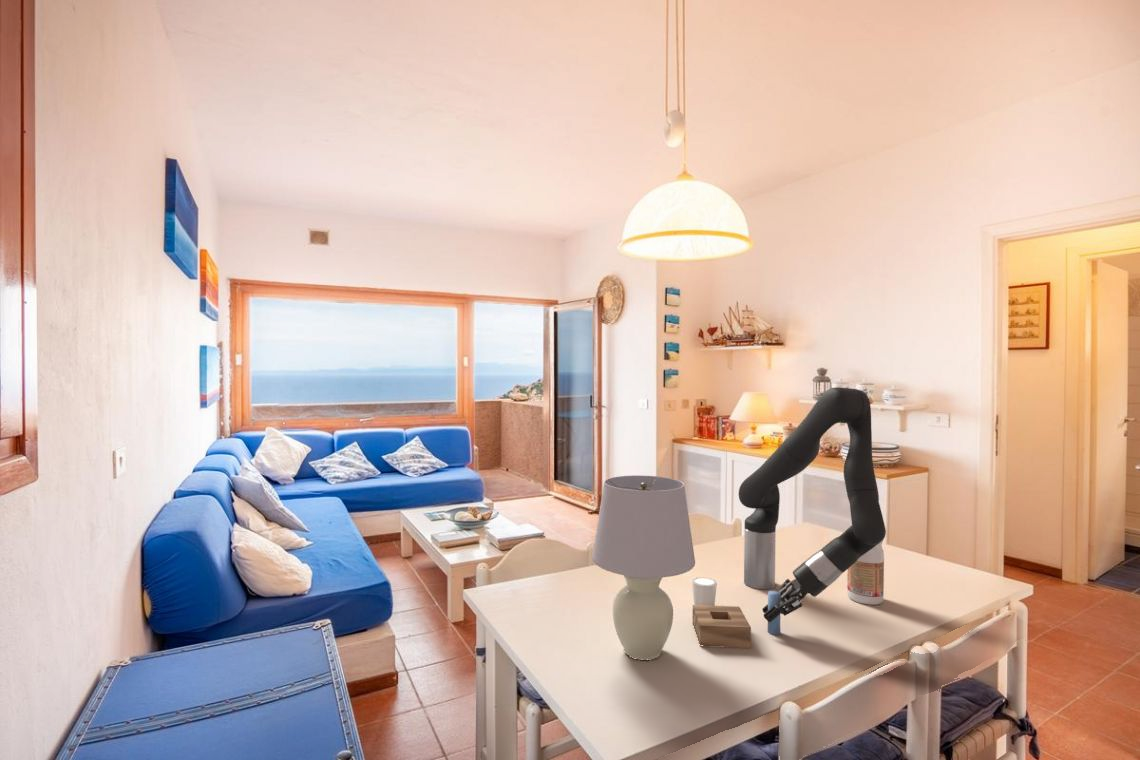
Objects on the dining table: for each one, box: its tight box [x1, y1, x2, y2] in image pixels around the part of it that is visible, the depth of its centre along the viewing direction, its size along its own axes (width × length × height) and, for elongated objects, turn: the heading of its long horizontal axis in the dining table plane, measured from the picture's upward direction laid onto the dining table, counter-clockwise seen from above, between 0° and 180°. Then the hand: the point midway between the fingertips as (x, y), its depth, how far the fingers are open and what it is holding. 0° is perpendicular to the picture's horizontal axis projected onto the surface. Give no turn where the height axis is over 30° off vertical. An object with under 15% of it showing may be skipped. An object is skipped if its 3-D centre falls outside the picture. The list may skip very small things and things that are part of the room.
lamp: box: [591, 474, 696, 660], centre depth 131 cm, size 24×24×40 cm
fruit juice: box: [846, 524, 885, 606], centre depth 163 cm, size 9×9×28 cm
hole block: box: [692, 604, 752, 649], centre depth 140 cm, size 12×12×5 cm
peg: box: [767, 590, 781, 636], centre depth 142 cm, size 3×3×10 cm
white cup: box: [691, 576, 718, 606], centre depth 158 cm, size 7×7×7 cm
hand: (765, 615), depth 142 cm, fingers closed on peg, 3 cm apart
